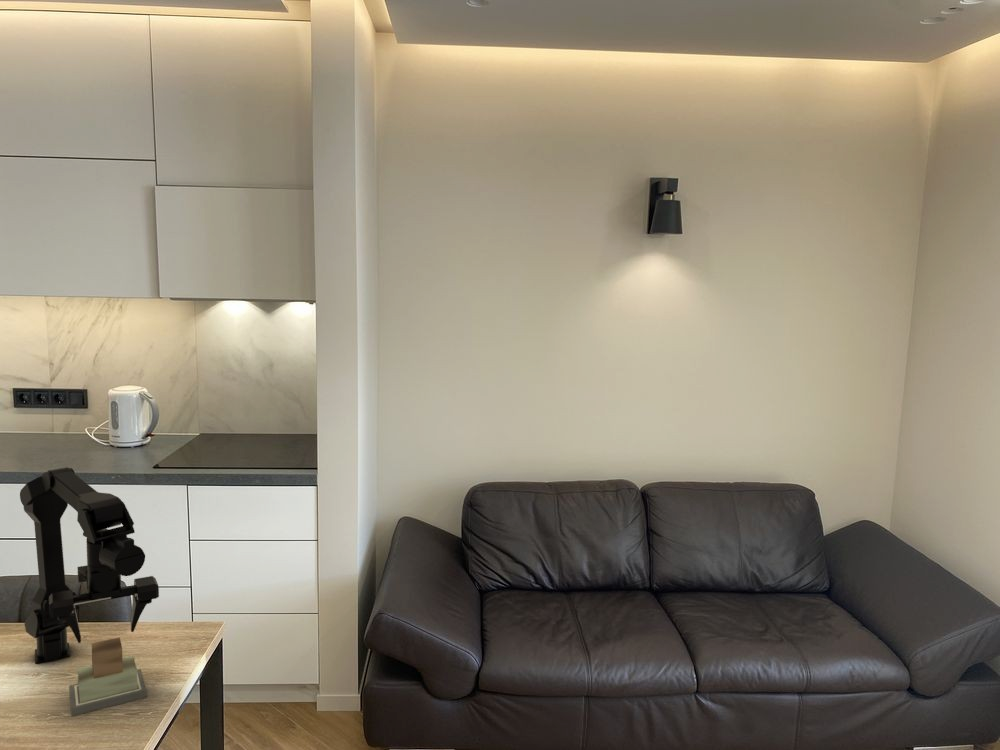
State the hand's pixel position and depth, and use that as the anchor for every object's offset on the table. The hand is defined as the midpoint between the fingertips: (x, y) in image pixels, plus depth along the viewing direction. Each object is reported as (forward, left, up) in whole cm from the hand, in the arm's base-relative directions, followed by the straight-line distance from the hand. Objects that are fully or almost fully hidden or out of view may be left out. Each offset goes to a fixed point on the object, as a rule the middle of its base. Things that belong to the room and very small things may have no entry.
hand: (106, 636), depth 142 cm
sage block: (0, 0, -11) cm, 11 cm away
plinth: (0, 0, -12) cm, 12 cm away
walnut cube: (0, 0, -7) cm, 7 cm away
